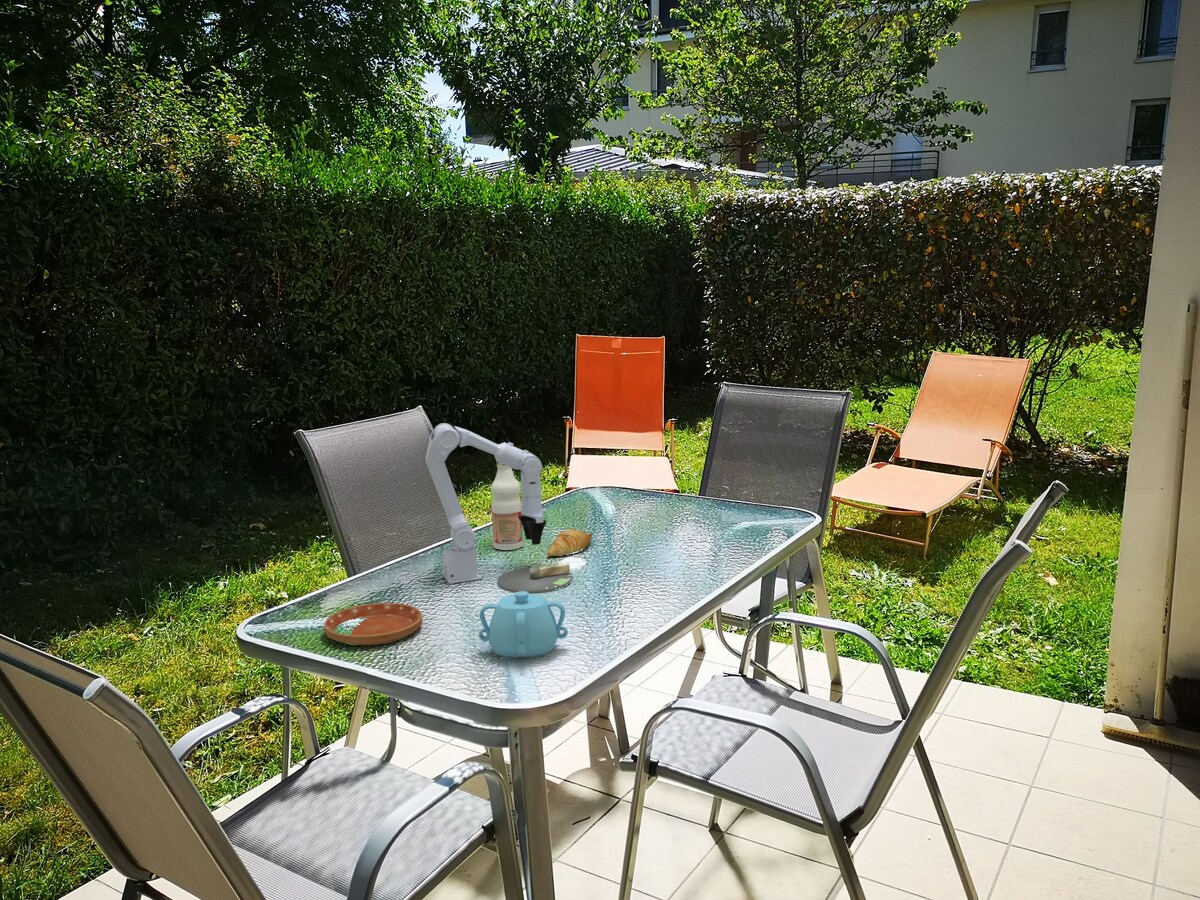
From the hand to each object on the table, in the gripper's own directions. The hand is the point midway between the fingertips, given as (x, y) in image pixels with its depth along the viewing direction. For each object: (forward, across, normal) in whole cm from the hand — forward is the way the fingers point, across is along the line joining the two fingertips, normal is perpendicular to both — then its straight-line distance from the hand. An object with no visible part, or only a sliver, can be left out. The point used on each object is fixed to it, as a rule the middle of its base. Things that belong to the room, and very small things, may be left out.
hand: (533, 541), depth 261 cm
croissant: (+9, +14, -16) cm, 23 cm away
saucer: (+9, -29, +50) cm, 58 cm away
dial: (+8, -10, +3) cm, 13 cm away
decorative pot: (+9, -56, +21) cm, 60 cm away
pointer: (+7, -10, -1) cm, 12 cm away
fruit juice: (+9, +26, 0) cm, 27 cm away
